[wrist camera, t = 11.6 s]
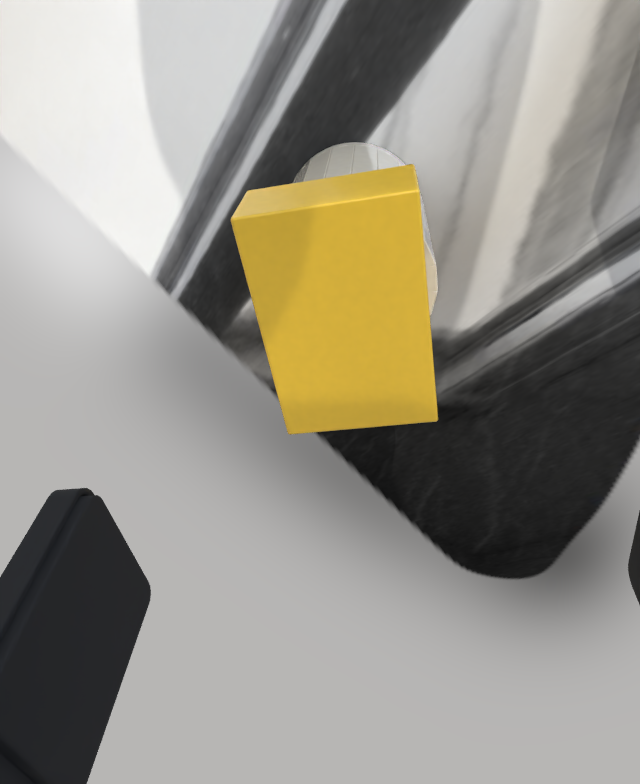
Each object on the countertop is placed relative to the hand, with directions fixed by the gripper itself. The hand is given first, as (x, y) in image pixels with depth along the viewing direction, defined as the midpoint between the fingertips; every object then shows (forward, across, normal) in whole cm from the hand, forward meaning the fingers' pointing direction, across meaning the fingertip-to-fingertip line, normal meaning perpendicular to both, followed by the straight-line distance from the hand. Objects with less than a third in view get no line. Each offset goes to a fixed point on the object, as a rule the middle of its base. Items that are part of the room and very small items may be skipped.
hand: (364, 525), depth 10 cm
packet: (+14, +1, +2) cm, 14 cm away
